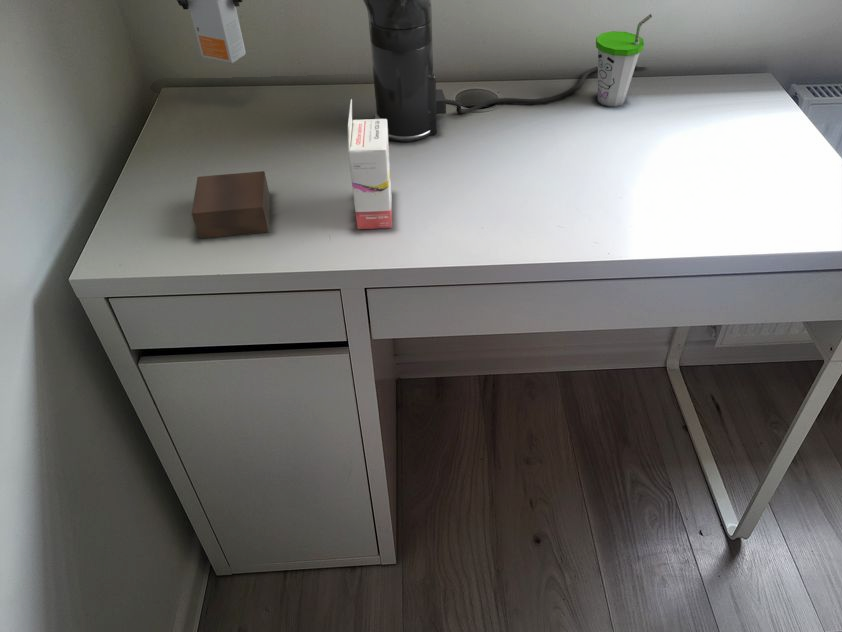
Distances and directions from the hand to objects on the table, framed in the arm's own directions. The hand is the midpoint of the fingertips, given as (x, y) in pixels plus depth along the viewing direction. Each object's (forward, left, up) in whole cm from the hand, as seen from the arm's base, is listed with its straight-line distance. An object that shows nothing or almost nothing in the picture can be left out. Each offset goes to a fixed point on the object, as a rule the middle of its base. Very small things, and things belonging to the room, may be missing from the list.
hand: (210, 5), depth 109 cm
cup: (-64, +9, -16) cm, 67 cm away
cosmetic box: (0, -2, -9) cm, 9 cm away
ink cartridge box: (-21, +36, -16) cm, 44 cm away
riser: (-2, +34, -16) cm, 37 cm away
